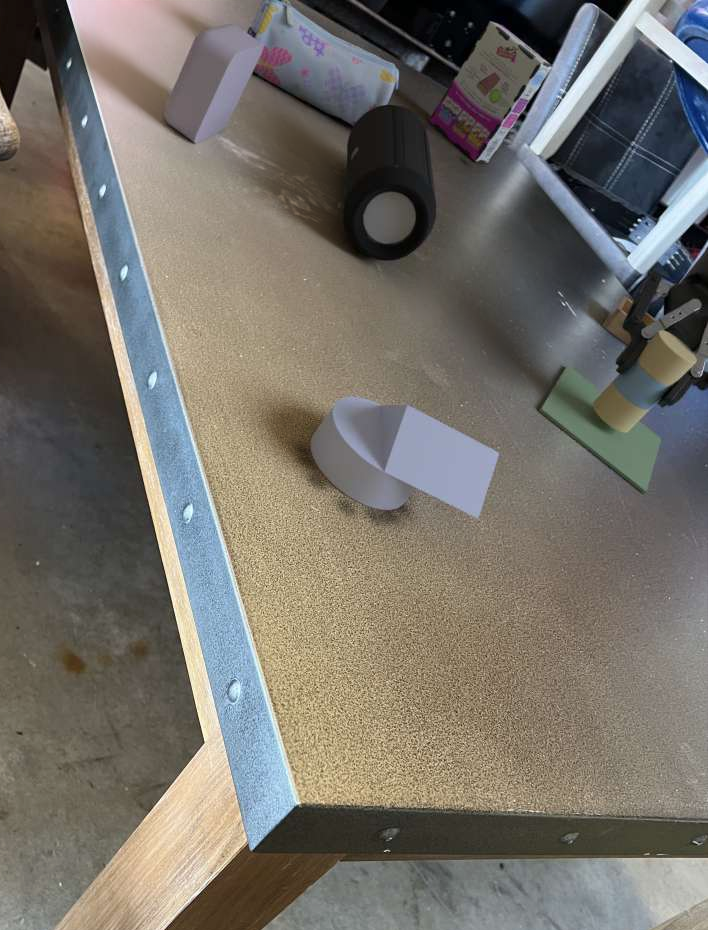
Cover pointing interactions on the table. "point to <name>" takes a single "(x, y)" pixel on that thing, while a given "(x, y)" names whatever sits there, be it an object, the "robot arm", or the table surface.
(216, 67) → the mauve upright block
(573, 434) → the mat
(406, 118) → the portable speaker
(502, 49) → the popsicle box
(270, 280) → the table surface
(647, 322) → the holder
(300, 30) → the pencil case
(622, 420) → the tape stack
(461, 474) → the wedge on round base
